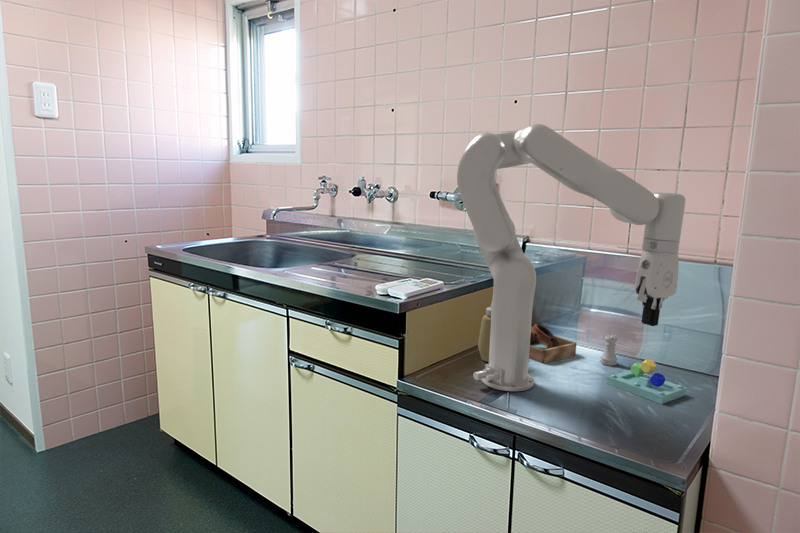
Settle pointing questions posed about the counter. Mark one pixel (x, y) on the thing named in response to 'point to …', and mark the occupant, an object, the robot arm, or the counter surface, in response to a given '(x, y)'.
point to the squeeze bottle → (485, 335)
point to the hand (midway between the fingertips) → (649, 324)
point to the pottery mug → (542, 335)
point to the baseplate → (647, 388)
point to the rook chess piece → (609, 351)
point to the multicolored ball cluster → (646, 380)
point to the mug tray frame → (552, 350)
